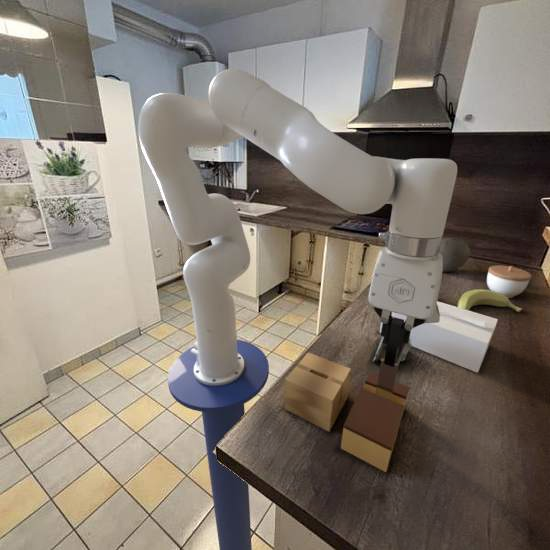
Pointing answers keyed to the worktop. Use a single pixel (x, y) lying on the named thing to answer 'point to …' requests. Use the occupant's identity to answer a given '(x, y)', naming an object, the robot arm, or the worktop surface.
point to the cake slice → (398, 391)
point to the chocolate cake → (400, 356)
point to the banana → (484, 299)
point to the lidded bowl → (507, 280)
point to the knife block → (317, 390)
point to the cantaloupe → (453, 253)
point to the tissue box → (454, 336)
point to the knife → (390, 361)
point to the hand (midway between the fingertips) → (393, 341)
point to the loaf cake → (372, 428)
